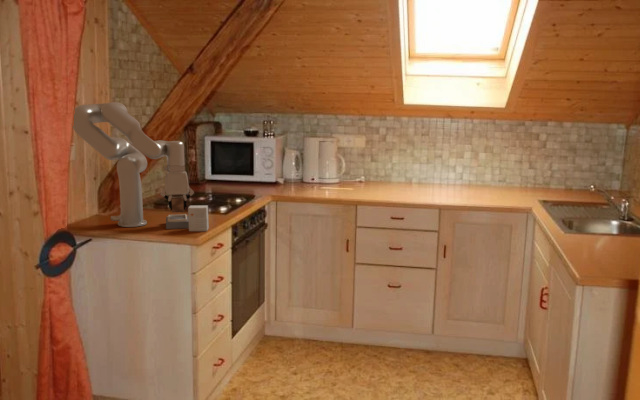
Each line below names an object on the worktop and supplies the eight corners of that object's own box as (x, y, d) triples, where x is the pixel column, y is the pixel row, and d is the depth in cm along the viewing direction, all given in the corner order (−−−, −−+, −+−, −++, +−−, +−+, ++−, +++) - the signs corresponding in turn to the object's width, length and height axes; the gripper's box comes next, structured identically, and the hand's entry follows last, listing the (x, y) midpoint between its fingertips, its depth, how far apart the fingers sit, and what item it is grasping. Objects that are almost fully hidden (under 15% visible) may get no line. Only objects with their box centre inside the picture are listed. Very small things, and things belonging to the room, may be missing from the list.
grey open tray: (166, 229, 269) (165, 220, 268) (166, 223, 280) (166, 214, 280) (189, 228, 271) (189, 219, 270) (188, 222, 283) (188, 213, 282)
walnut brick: (172, 212, 270) (171, 199, 269) (172, 210, 277) (171, 197, 276) (183, 212, 271) (183, 198, 270) (183, 209, 278) (183, 196, 277)
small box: (208, 228, 271) (208, 205, 269) (207, 231, 266) (206, 207, 264) (190, 228, 271) (190, 205, 269) (188, 231, 265) (187, 207, 263)
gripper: (155, 170, 266) (158, 212, 269) (195, 169, 269) (197, 210, 273) (156, 168, 273) (158, 208, 276) (195, 167, 276) (197, 206, 280)
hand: (178, 208), depth 274 cm, fingers closed on walnut brick, 5 cm apart
